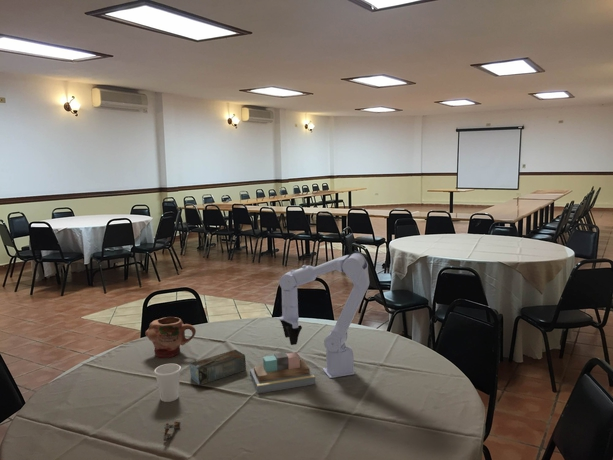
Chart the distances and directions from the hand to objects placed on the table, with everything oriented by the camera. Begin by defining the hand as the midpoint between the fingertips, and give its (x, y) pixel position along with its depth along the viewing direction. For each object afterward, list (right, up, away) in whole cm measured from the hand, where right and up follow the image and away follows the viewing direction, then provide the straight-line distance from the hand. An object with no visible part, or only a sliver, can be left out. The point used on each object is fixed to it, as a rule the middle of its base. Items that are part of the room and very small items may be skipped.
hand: (290, 340), depth 180 cm
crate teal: (-7, -8, -11) cm, 15 cm away
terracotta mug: (-48, -9, +17) cm, 52 cm away
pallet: (-3, -9, -9) cm, 13 cm away
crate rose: (+1, -7, -8) cm, 11 cm away
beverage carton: (-26, -12, -3) cm, 29 cm away
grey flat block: (-3, -12, -9) cm, 15 cm away
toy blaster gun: (-32, -18, -41) cm, 55 cm away
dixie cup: (-39, -14, -20) cm, 46 cm away
